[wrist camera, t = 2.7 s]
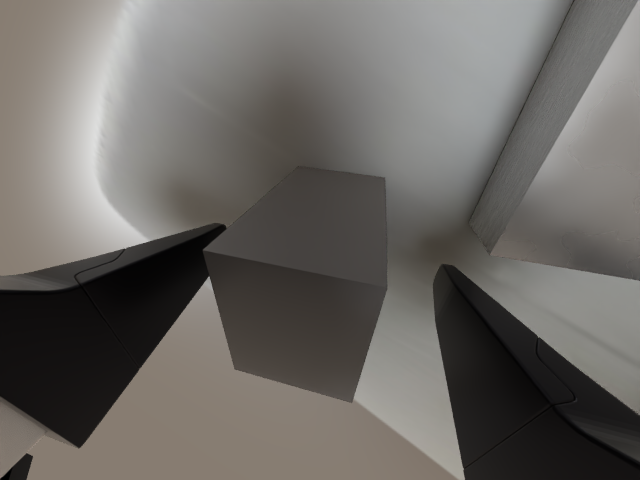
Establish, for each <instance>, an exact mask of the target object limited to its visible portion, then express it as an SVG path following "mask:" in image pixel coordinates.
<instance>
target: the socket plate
mask: <svg viewBox="0 0 640 480" xmlns="http://www.w3.org/2000/svg"><path fill="white" fill-rule="evenodd" d="M469 224H470V226H471V227H472V229H473V230H474V232H475V233H476V235H477V236H478V238H479V239H480V241H481V242H482V244H483V245H484V247H485V249H486V250H487V252H488V253H489V255H493V256H499V257H504V258H510V259H516V260H522V261H528V262H534V263H540V264H546V265H551V266H557V267H563V268H569V269H575V270H581V271H587V272H592V273H598V274H604V275H610V276H616V277H622V278H628V279H634V280H639V281H640V0H574V2H573V4H572V6H571V8H570V11H569V13H568V15H567V17H566V19H565V21H564V23H563V25H562V27H561V30H560V32H559V34H558V36H557V38H556V40H555V42H554V44H553V46H552V48H551V51H550V53H549V55H548V57H547V59H546V61H545V63H544V65H543V67H542V70H541V72H540V74H539V76H538V78H537V80H536V82H535V84H534V86H533V88H532V91H531V93H530V95H529V97H528V99H527V101H526V103H525V105H524V107H523V110H522V112H521V114H520V116H519V118H518V120H517V122H516V124H515V126H514V128H513V131H512V133H511V135H510V137H509V139H508V141H507V143H506V145H505V147H504V150H503V152H502V154H501V156H500V158H499V160H498V162H497V164H496V166H495V168H494V171H493V173H492V175H491V177H490V179H489V181H488V183H487V185H486V187H485V190H484V192H483V194H482V196H481V198H480V200H479V202H478V204H477V206H476V208H475V211H474V213H473V215H472V217H471V219H470V221H469Z"/></svg>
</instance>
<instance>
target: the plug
mask: <svg viewBox="0 0 640 480" xmlns="http://www.w3.org/2000/svg"><path fill="white" fill-rule="evenodd" d="M203 254H204V257H205V261H206V265H207V269H208V272H209V276H210V280H211V283H212V287H213V291H214V294H215V298H216V302H217V305H218V309H219V313H220V317H221V320H222V324H223V328H224V331H225V335H226V339H227V343H228V346H229V350H230V354H231V357H232V361H233V365H234V368H235V369H236V370H239V371H242V372H246V373H250V374H253V375H256V376H260V377H263V378H267V379H270V380H274V381H277V382H281V383H284V384H288V385H291V386H295V387H299V388H302V389H305V390H309V391H312V392H316V393H320V394H323V395H326V396H330V397H333V398H337V399H340V400H344V401H347V402H351V403H352V401H353V398H354V394H355V391H356V388H357V385H358V382H359V378H360V375H361V372H362V369H363V365H364V362H365V359H366V356H367V352H368V349H369V346H370V343H371V339H372V336H373V333H374V330H375V326H376V323H377V320H378V317H379V313H380V310H381V307H382V304H383V300H384V297H385V294H386V291H387V241H386V190H385V178H384V177H376V176H368V175H361V174H353V173H345V172H338V171H330V170H322V169H315V168H307V167H299V166H298V167H297V168H296V169H295V170H294V171H293V172H291V173H290V174H289V175H288V176H287V177H286V178H285V179H283V180H282V181H281V182H280V183H279V184H278V185H277V186H275V187H274V188H273V189H272V190H271V191H270V192H269V193H267V194H266V195H265V196H264V197H263V198H262V199H261V200H259V201H258V202H257V203H256V204H255V205H254V206H253V207H251V208H250V209H249V210H248V211H247V212H246V213H244V214H243V215H242V216H241V217H240V218H239V219H238V220H236V221H235V222H234V223H233V224H232V225H231V226H230V227H228V228H227V229H226V230H225V231H224V232H223V233H222V234H220V235H219V236H218V237H217V238H216V239H215V240H214V241H212V242H211V243H210V244H209V245H208V246H207V247H206V248H204V249H203Z"/></svg>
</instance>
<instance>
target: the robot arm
mask: <svg viewBox="0 0 640 480" xmlns="http://www.w3.org/2000/svg"><path fill="white" fill-rule="evenodd" d="M226 229H227V228H226V226H225V225H224V224H219V223H214V224H210V225H206V226H203V227H199V228H196V229H192V230H189V231H185V232H182V233H178V234H175V235H171V236H167V237H164V238H160V239H157V240H153V241H150V242H146V243H143V244H139V245H136V246H132V247H128V248H126V249H121V250H118V251H114V252H111V253H107V254H103V255H99V256H96V257H92V258H88V259H84V260H80V261H75V262H71V263H67V264H63V265H59V266H55V267H50V268H46V269H42V270H38V271H34V272H29V273H24V274H18V275H9V276H0V480H26V479H27V475H28V472H29V469H30V465H31V462H32V458H33V456H31V455H29V454H27V452H28V451H29V450H30V449H31V448H32V447H33V446H34V445H35V444H36V443H37V442H38V441H39V440H40V439H41V438H42V437H43V436H44V435H45V436H48V437H51V438H53V439H55V440H58V441H61V442H63V443H66V444H68V445H71V446H73V447H76V448H80V447H81V446H82V445H83V444H84V443H85V442H86V440H87V439H88V438H89V437H90V435H91V434H92V432H93V431H94V430H95V428H96V427H97V425H98V424H99V423H100V422H101V420H102V419H103V418H104V416H105V415H106V414H107V412H108V411H109V410H110V408H111V407H112V405H113V404H114V403H115V402H116V400H117V399H118V397H119V396H120V395H121V394H122V392H123V391H124V390H125V388H126V387H127V385H128V384H129V383H130V382H131V380H132V379H133V377H134V376H135V375H136V373H137V372H138V371H139V369H140V368H141V367H142V365H143V364H144V363H145V361H146V360H147V358H148V357H149V356H150V355H151V353H152V352H153V351H154V349H155V348H156V347H157V345H158V344H159V342H160V341H161V340H162V339H163V337H164V336H165V334H166V333H167V332H168V330H169V329H170V328H171V326H172V325H173V324H174V322H175V321H176V320H177V318H178V317H179V316H180V314H181V313H182V312H183V310H184V309H185V308H186V306H187V305H188V304H189V302H190V301H191V300H192V298H193V297H194V296H195V294H196V293H197V292H198V290H199V289H200V288H201V286H202V285H203V284H204V282H205V281H206V280H207V278H208V277H209V272H208V269H207V265H206V261H205V257H204V254H203V249H204V248H206V247H207V246H208V245H209V244H210V243H211V242H212V241H214V240H215V239H216V238H217V237H218V236H219V235H220V234H222V233H223V232H224V231H225V230H226ZM433 294H434V311H435V322H436V328H437V334H438V339H439V344H440V349H441V355H442V360H443V365H444V370H445V376H446V381H447V386H448V391H449V397H450V402H451V407H452V412H453V418H454V423H455V428H456V433H457V439H458V444H459V449H460V454H461V460H462V465H463V468H464V470H463V471H464V476H465V480H640V415H638V414H637V413H636V412H634V411H633V410H632V409H630V408H629V407H628V406H626V405H625V404H624V403H622V402H621V401H620V400H618V399H617V398H616V397H614V396H613V395H612V394H610V393H609V392H608V391H606V390H605V389H604V388H602V387H601V386H600V385H598V384H597V383H596V382H595V381H593V380H592V379H591V378H589V377H588V376H587V375H585V374H584V373H583V372H582V371H580V370H579V369H578V368H576V367H575V366H574V365H572V364H571V363H570V362H569V361H567V360H566V359H565V358H564V357H563V356H561V355H560V354H559V353H558V352H556V351H555V350H554V349H553V348H552V347H550V346H549V345H548V344H547V343H546V342H544V341H543V340H542V339H541V338H538V336H537V335H536V334H535V333H534V332H532V331H531V330H530V329H529V328H528V327H526V326H525V325H524V324H523V323H522V322H520V321H519V320H518V319H517V318H516V317H514V316H513V315H512V314H511V313H510V312H508V311H507V310H506V309H505V308H504V307H502V306H501V305H500V304H499V303H498V302H496V301H495V300H494V299H493V298H492V297H490V296H489V295H488V294H487V293H486V292H484V291H483V290H482V289H481V288H480V287H478V286H477V285H476V284H475V283H474V282H472V281H471V280H470V279H469V278H468V277H466V276H465V275H464V274H463V273H462V272H461V271H459V270H458V269H457V268H456V267H454V266H452V265H446V264H442V265H441V266H440V268H439V270H438V272H437V274H436V276H435V279H434V282H433Z"/></svg>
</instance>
